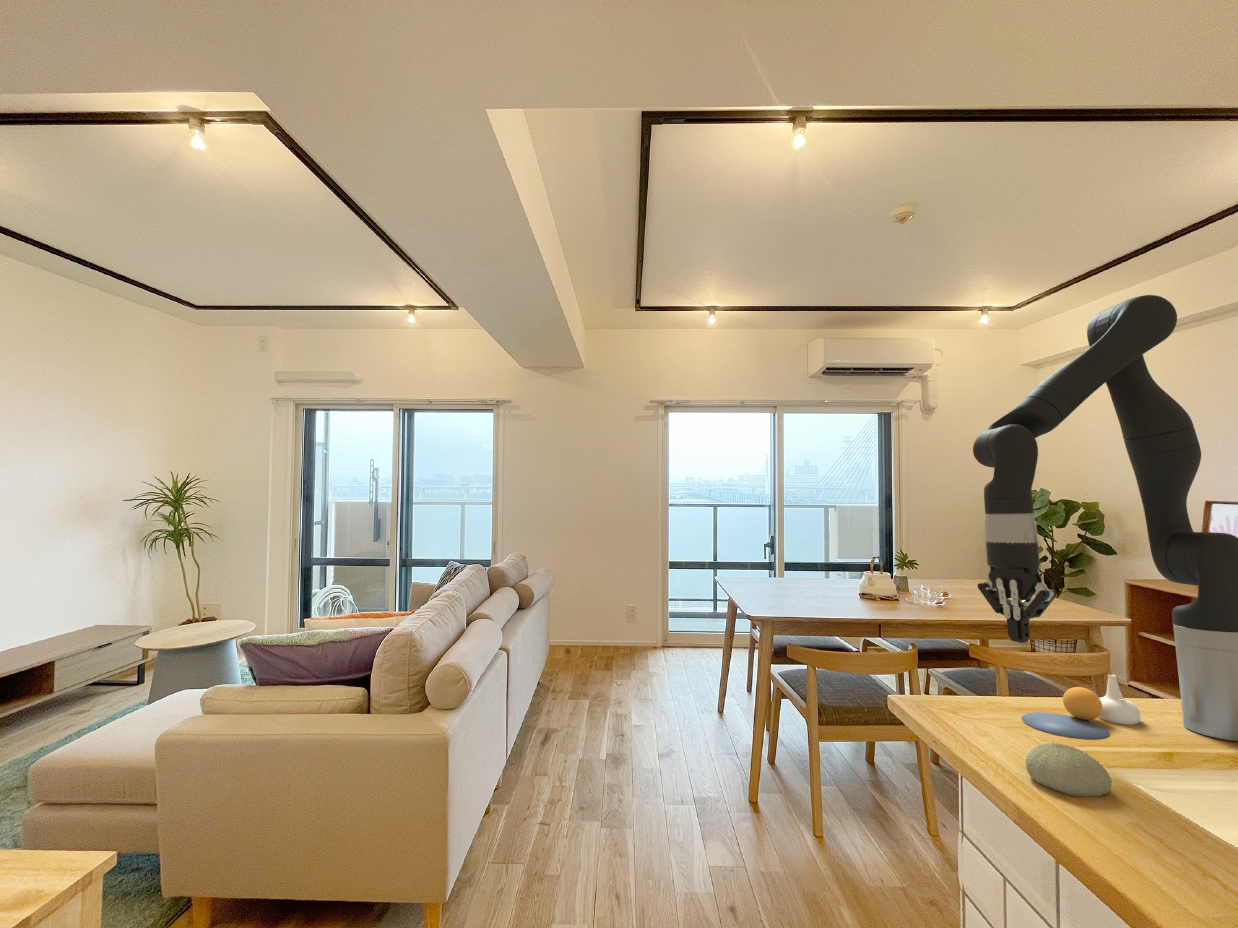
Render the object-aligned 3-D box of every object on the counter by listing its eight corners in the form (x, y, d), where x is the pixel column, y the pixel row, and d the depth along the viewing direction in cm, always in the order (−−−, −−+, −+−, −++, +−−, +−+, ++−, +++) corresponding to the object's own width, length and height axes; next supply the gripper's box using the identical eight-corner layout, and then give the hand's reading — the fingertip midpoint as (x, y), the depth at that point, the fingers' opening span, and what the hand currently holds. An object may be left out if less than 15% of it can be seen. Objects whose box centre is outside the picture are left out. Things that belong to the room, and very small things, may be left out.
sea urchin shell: (1100, 761, 79) (1105, 733, 75) (1113, 822, 74) (1120, 795, 70) (1021, 748, 84) (1022, 721, 80) (1028, 804, 78) (1030, 779, 74)
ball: (1078, 714, 104) (1076, 683, 105) (1111, 723, 98) (1109, 691, 99) (1056, 715, 102) (1054, 683, 103) (1088, 724, 97) (1086, 690, 98)
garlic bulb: (1135, 720, 101) (1130, 673, 103) (1146, 728, 96) (1140, 679, 97) (1091, 714, 104) (1086, 669, 106) (1099, 722, 99) (1094, 674, 100)
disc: (1052, 710, 105) (1052, 709, 105) (1127, 733, 94) (1127, 732, 94) (1005, 718, 101) (1005, 716, 101) (1077, 743, 90) (1077, 741, 90)
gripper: (1066, 540, 93) (1076, 647, 91) (991, 538, 105) (998, 632, 104) (1033, 541, 91) (1042, 651, 89) (961, 539, 103) (968, 635, 101)
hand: (1019, 641), depth 96 cm, fingers closed
